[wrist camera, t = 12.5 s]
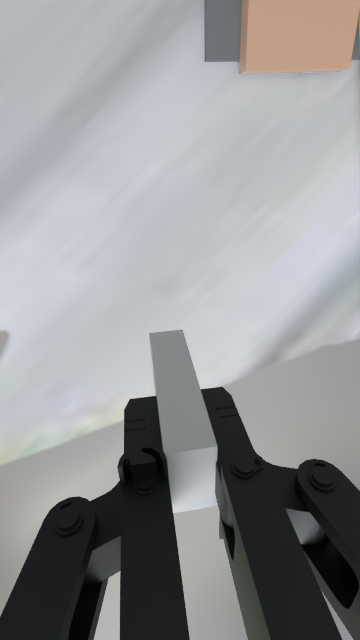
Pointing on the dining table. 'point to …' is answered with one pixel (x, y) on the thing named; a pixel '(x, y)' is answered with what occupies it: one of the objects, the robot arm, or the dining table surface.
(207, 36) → the mat
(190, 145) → the dining table surface
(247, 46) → the tile
